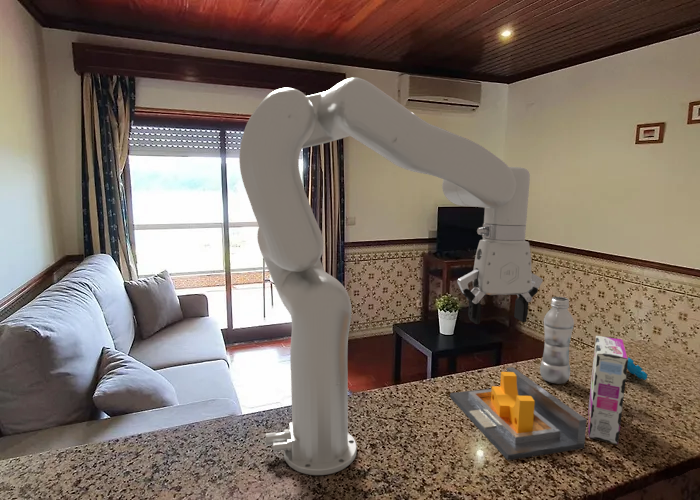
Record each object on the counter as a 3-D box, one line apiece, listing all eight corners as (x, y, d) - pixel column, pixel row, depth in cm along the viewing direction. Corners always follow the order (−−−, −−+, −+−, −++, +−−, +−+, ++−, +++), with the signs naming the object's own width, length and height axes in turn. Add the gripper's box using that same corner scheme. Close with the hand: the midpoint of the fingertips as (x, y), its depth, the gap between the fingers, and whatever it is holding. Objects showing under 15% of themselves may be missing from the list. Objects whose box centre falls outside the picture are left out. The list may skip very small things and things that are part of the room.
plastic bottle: (536, 382, 100) (542, 299, 97) (542, 372, 106) (547, 293, 102) (566, 390, 96) (573, 304, 93) (571, 379, 102) (578, 297, 99)
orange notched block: (490, 400, 90) (492, 371, 89) (512, 401, 89) (513, 372, 88) (507, 433, 78) (509, 400, 77) (532, 434, 77) (534, 401, 77)
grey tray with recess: (507, 460, 72) (509, 430, 71) (450, 397, 93) (450, 373, 92) (584, 448, 75) (586, 419, 74) (511, 390, 96) (513, 367, 96)
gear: (659, 381, 97) (627, 350, 97) (640, 399, 97) (608, 368, 97) (628, 367, 108) (600, 339, 108) (611, 383, 108) (583, 355, 108)
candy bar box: (620, 446, 76) (629, 358, 73) (588, 438, 78) (595, 353, 76) (616, 416, 85) (624, 338, 83) (587, 410, 88) (594, 334, 85)
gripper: (470, 235, 75) (464, 329, 78) (557, 235, 79) (549, 325, 81) (452, 231, 83) (447, 316, 85) (533, 231, 86) (526, 313, 88)
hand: (497, 321), depth 83 cm, fingers open, 9 cm apart
